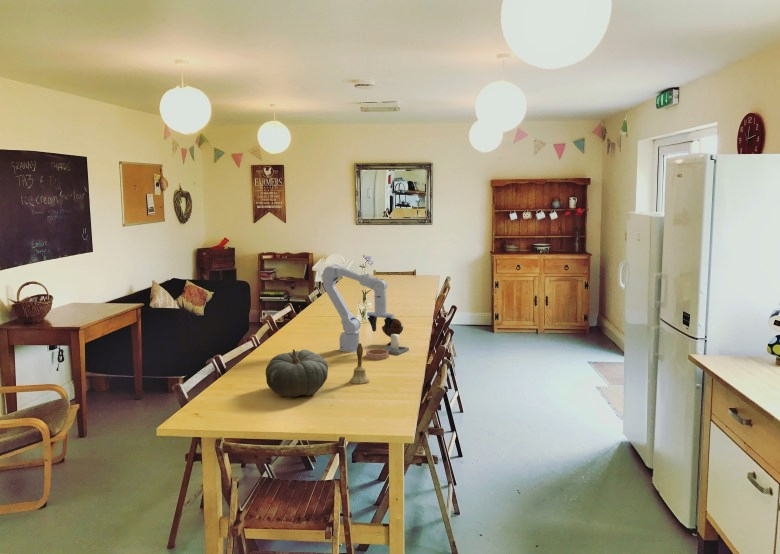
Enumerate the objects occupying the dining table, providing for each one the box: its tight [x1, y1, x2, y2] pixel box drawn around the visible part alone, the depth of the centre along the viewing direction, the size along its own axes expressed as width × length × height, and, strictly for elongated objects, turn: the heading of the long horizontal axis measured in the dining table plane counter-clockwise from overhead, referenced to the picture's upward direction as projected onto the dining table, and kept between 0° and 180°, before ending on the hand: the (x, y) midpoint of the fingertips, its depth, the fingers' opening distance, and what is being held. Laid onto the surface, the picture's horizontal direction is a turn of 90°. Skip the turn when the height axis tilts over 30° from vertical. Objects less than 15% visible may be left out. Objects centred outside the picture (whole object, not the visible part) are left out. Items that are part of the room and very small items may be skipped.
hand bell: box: [349, 342, 370, 385], centre depth 253 cm, size 8×8×16 cm
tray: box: [382, 345, 410, 356], centre depth 300 cm, size 10×10×2 cm
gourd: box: [265, 349, 329, 398], centre depth 239 cm, size 25×25×17 cm
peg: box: [390, 334, 400, 352], centre depth 300 cm, size 4×4×8 cm
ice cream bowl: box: [381, 317, 404, 347], centre depth 315 cm, size 11×11×15 cm
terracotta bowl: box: [365, 348, 390, 361], centre depth 290 cm, size 11×11×3 cm
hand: (380, 331), depth 299 cm, fingers open, 7 cm apart
